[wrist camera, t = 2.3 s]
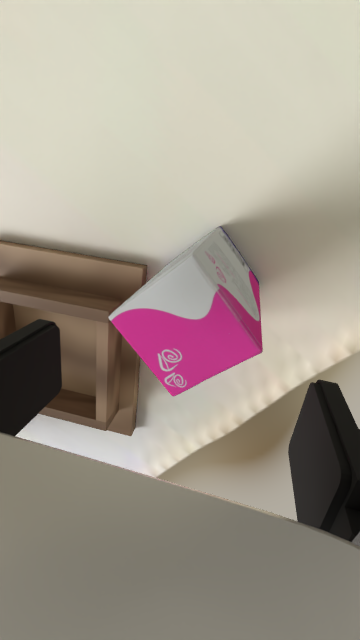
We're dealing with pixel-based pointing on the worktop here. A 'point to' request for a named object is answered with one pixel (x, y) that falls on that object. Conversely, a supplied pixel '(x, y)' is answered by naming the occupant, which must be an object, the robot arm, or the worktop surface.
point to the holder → (77, 328)
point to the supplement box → (195, 315)
